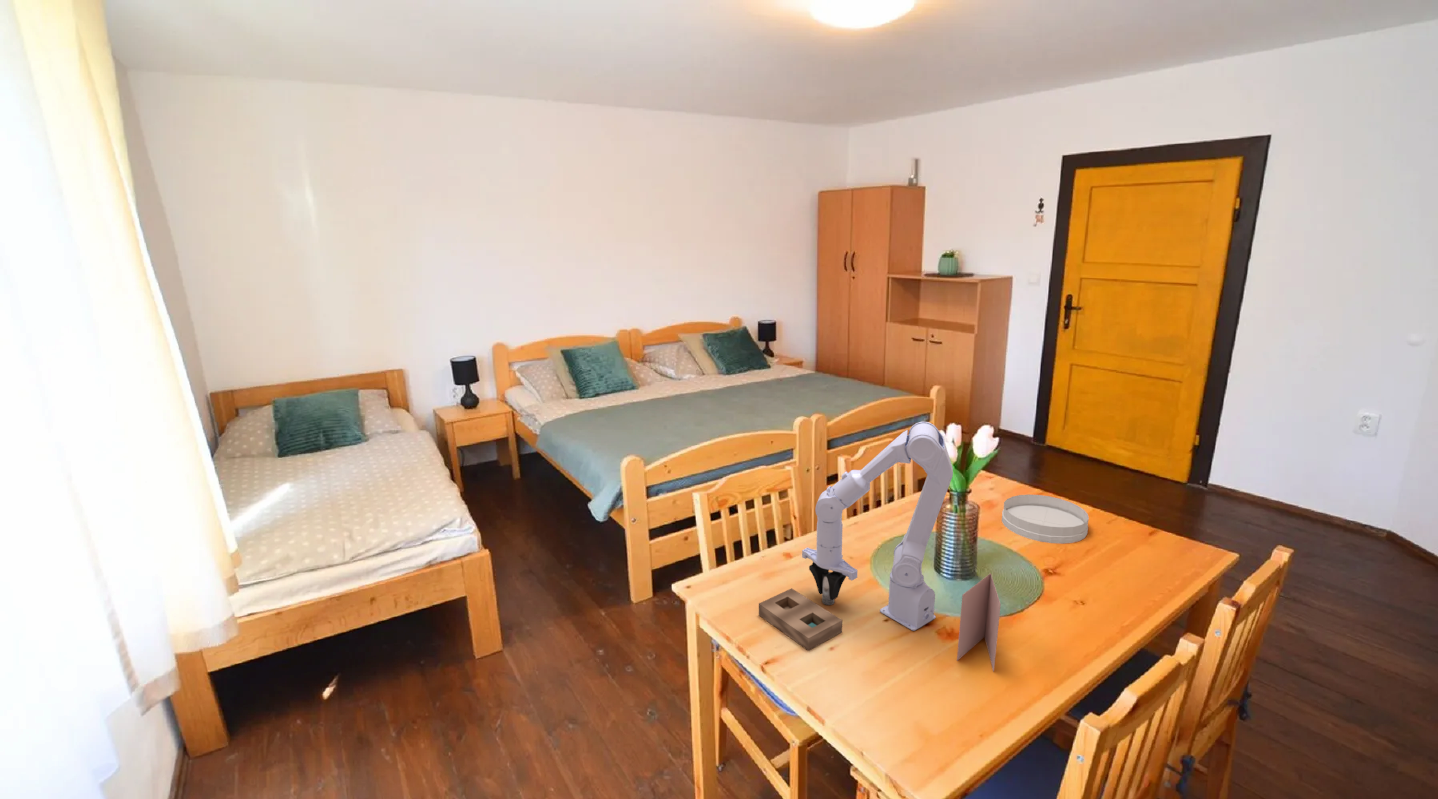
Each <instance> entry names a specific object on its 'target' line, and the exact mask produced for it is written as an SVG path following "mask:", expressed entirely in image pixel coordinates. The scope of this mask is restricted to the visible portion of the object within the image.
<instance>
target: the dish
mask: <svg viewBox="0 0 1438 799" xmlns="http://www.w3.org/2000/svg"><path fill="white" fill-rule="evenodd" d="M1001 512H1002V513H1001V514H1002V515H1001V522H1002V524H1003V526H1004V527H1005V528H1006V529H1008V530H1009V531H1011V532H1013V533H1014V534H1016V535H1018V536H1021V537H1024V538H1027V539H1029V540H1033V541H1037V542H1042V543H1049V544H1073V543H1077V542H1080V541H1082V540H1084V539H1086V536H1087V535H1088V530H1089V525H1088V524H1089V520H1090V519H1089V514H1088V513H1087V512H1086V510H1085V509H1084V508H1082V507H1080V506H1079V505H1077V504H1075V503H1073V502H1071V501H1068V500H1066V499H1062V498H1060V497H1059V498H1058V497H1054V496H1049V495H1043V494H1018V495H1015V496H1014V495H1013V496H1011V497H1008V498H1007V499H1006V500H1005V501H1004V502H1003V509H1002V511H1001Z"/></svg>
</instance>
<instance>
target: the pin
mask: <svg viewBox="0 0 1438 799" xmlns="http://www.w3.org/2000/svg"><path fill="white" fill-rule="evenodd" d="M831 572H832V571H829V572H824V573H823V577H822V594H821V602H822V604H824V605H826V606H832V605H835V599H834V600H831V599H830V595H829V582H828V579H827V577H826V575H827V574H829V573H831Z"/></svg>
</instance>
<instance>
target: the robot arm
mask: <svg viewBox="0 0 1438 799" xmlns="http://www.w3.org/2000/svg"><path fill="white" fill-rule="evenodd" d="M911 461H913V462H915V463H916V464H917V465H919V467H921V468H922V469H923V470H924V472H925V473H926V475H927V476H926V479H925V481H924V484H923V486H922V490H921V492H920V494H919V497H918V500H917V503H916V506H915V509H914V512H913V514H912V516H911V520H910V523H909V525H908V528H907V531H906V533H905V534H904V536H903V538H902V540H901V542H900V543H898V544H897V545H896V547H894V549H893V561H892V562H893V563H892V568H891V570H890V572H889V583H888V584H889V587H888V588H889V589H888V604H887V605H885V606H883V607H881V608H880V609H879V613H881V614H883V615H885V616H886V617H888V618H890V619H891V620H893V621H896V622H897V623H899V624H900V625H902V626H904V627H906V628H907V629H908V630H911V631H914V632H915V631H916V630H919V629H920V628H922V627H923V626H925V625H927V624H928V623H930V622H932V621H934V620H935V619H936V615H935V614H934V613H935V602H936V593H935V590H934V589H933V588H931V587H930V586H929V585H928V584H927V583H926V581H925V580H924V579H925V577H924V574H923V573H922V572H923V571H922V568H923V566H922V564H923V562H924V558H925V552H926V548H927V545H928V542H929V540H930V538H931V534H932V532H933V529H934V527H935V524H936V522H937V520H938V516H939V514H940V510H941V507H942V505H943V502H944V500H945V497H946V495H947V492H948V490H949V487H950V484H951V481H952V479H953V475H954V468H953V464H952V461H951V458H950V455H949V451H948V448H947V445H946V442H945V438H944V435H943V434H942V433H941V432H940V431H939V429H938V428H937V427H936V425H935V424H933V423H931V422H929V421H920V422H915V423H914V424H913V425H912V426H911V427H910V428H909V430H908V429H906V430H904V431H903V432H902V433H901V434H900V435H898V436H897V437H896V438H894V440H893V441H891V442H890V443H889V444H888V445H887V446H886V447H885V448H884V449H882V450H881V451H880V452H879V453H878V454H877V455H876V456H874V458H872V459H871V461H869V462H868V463H867V464H866V465H865V466H864V467H863V468H862V469H851V470H850V471H849V472H848V471H844V472H843V473H842V474H841V479H839V480H838V481H836V483H835V484H833V485H832V486H831V485H829V486H828V487H827V488H826V490H824V491H822V493H821V494H820V495H819V497H818V500H817V502H816V505H815V515H816V516H817V517H816V518H817V523H816V549H814V548H810V547H806V548H804V549H802V550H801V557H802V559H805V560H806V559H809V560H811V561H812V563H811V564H810V565H809V566H808V568H809V569H808V570H809V572H810V573H811V575H812V576H813V578H814V581H815V584H816V588H817V591H818V594H819V595H822V577H823V573H824V572H831V573H829V574H827V575H826V577H827V579H828V582H829V595H830V599H831V600H834V601H835V599H837V598H838V597H839V594H840V591H841V588H842V586H843V583H844V582H845V579H846V578H848V580H850V581H854V580H856V579H857V578H858V568H857V569H856V568H855V567H853V566H851V564H850V563H849V562H847V561H846V560H844V559H843V511H844V510H846V509H848V508H850V507H851V506H852V505H854V504H855V503H856V502H858V500H860V499H861V498H862V497H863V496H865V495H866V494H867V493H868V492H869V491H870V489H871V482H873V481H874V480H875V479H877V478H878V477H879V476H881V475H882V474H883V473H885V472H886V471H887V470H889V469H890V468H892V467H893V466H894V465H895V464H897V463H902V464H911Z"/></svg>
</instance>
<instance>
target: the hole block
mask: <svg viewBox="0 0 1438 799" xmlns="http://www.w3.org/2000/svg"><path fill="white" fill-rule="evenodd" d="M758 616H760V617H761V618H762V619H764V620H765V621H766V622H768V623H769V624H770V625H772V626H773V627H774V628H776V629H777V630H779V631H780V632H782V633H783V634H785V636H787V637H789V638H790V639H791V640H792V641H794V642H795V643H797V644H798V645H800V647H802V648H804V649H805V650H807V651H810V650H812V649H814V648H816V647H818V646H820V645H821V644H823V643H825V642H827V641H829V640H830V639H832V638H834V637H836V636H838V635H840V634H841V633H843V619H842V618H840V617H839V616H837V615H835V614H833V613H832V612H830V611H828V610H827V609H825V608H824V607H822V606H821V605H819V604H817V603H815V601H812V600H811V599H809V598H808V597H806V596H805V595H803V594H801V593H800V592H798V591H797V590H795V589H793V588H789V589H787V590H785V591H782V592H781V593H778V594H776V595H774V596H772V597H770V598H768V599H767V598H766V599H765V600H763V601H761V602H759V603H758Z"/></svg>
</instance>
